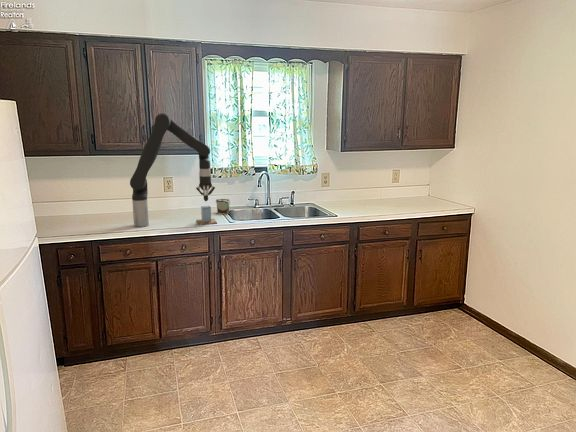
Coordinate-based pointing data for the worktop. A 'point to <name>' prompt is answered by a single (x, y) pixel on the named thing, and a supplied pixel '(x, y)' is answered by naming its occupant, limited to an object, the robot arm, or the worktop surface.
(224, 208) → the food container
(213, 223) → the post
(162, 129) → the robot arm
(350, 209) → the worktop surface
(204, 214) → the blue-grey rectangular block
